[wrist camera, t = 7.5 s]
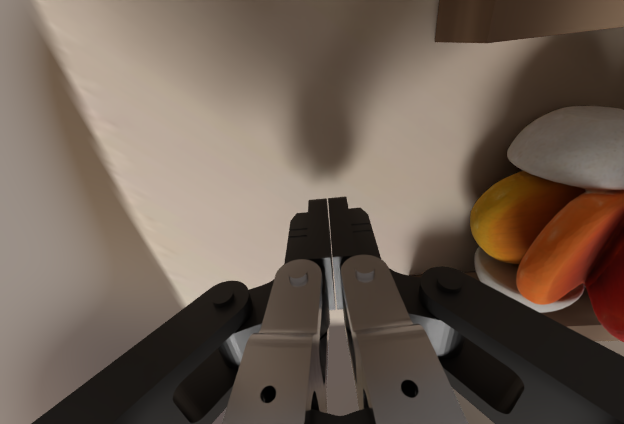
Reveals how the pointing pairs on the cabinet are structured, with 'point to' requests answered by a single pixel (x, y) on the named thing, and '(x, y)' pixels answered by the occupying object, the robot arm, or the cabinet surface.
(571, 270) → the rainbow disc stack
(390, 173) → the cabinet surface
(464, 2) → the bay
